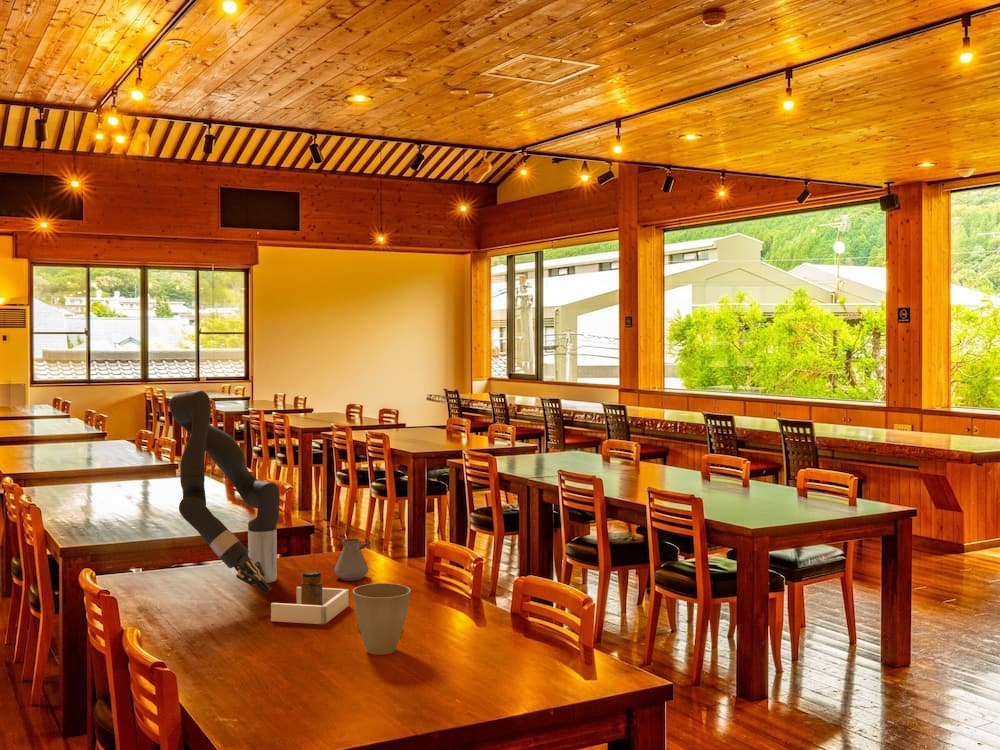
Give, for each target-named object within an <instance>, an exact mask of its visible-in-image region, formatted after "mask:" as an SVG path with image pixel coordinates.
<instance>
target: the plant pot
mask: <svg viewBox="0 0 1000 750" xmlns="http://www.w3.org/2000/svg"><path fill="white" fill-rule="evenodd" d="M352 596H353V603H354V609H355V610H354V611H355V616H356V619H357V626H358V625H359V627H358V628H359V629H358V630H359V633H360V636H361V638H362V641H363V646H364V647H365V650H366V652H367V653H369V654H370V655H373V656H374V655H375V656H386V655H390V654H394V653H395V652H396V649H397V647H398V645H399V642H400V639H401V636H402V633H403V630H404V627H405V621H406V618H407V613H408V609H409V603H410V598H411V588H410V587H408V586H406V585H403V584H399V583H398V584H397V583H389V582H388V583H387V582H383V583H381V582H378V583H368V584H363V585H359V586H357V587H355V588H353V589H352Z"/></svg>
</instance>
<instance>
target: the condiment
mask: <svg viewBox="0 0 1000 750" xmlns="http://www.w3.org/2000/svg"><path fill="white" fill-rule="evenodd" d="M321 576H322V573H321V572H320V571H318V570H317V571H316V570H309V571H308V570H307V571H304V572H303V573H302V581H301V583H300V585H301V586H300V587H301V604H304V605H321V606H323V605H322V588H323V582H322V577H321Z"/></svg>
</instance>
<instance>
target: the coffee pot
mask: <svg viewBox="0 0 1000 750" xmlns="http://www.w3.org/2000/svg"><path fill="white" fill-rule="evenodd" d="M361 542H362V539H360V538H344V539H342V540H341V543H342V545H343V548H342V551H341V552H340V554H339V555H340V556H339V558H338V560H337V562H336V565H335V567H334V573H335V576H337V577H338V578H339V580H343V581H347V582H348V581H349V582H350V581H359V580H362V579H364V577H365V576H366V575H367V574H368V572H369V566H368V564H367V562H366V559H365V557H364V555H363V552H362V549H365V548H368V549H372V548H373V547H374V544H373V542H371V541H368V542H365V543H363V544H362V545H360V544H361ZM371 544H372V546H371V547H369V546H370V545H371Z"/></svg>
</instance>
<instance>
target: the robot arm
mask: <svg viewBox="0 0 1000 750" xmlns="http://www.w3.org/2000/svg"><path fill="white" fill-rule="evenodd" d="M168 404H169V406H168V407H169V411H170V413H171V415H172V418H174V420H175V421H176V422H177V424H179V425H180V426H181V427H182V428H183V429H184V430H185V431H186V432H187V433H188V434H189V435H190V436H189V439H188V442H187V444H186V446H185V448H184V450H183V453H182V456H181V459H180V468H179V470H180V476H179V478H180V479H179V480H180V486H181V488H182V500H180V502H179V505H178V511H179V514H180V515H181V517H182V518H183V519H184V520H185V521H186V522H187V523H188V524H189V526H191V527H192V528H193V529H195V530H196V531H197V532H198V534H199V536H201V538H202V539H203V540H204V541H205V542H206V543H207V544H208V545H209V547H210V548H211V549H212V551H213V552H214V554H216V555H217V557H218V558H219V559H220V560H221V561H222V563H224V564H225V566H226V567H227V568H228V569H233V568H234V569H235V571H236V572H237V574H236V575H235V578H237V579H239V580H240V581H242V582H244V583H245V584H248V585H250V586H256V587H257V588H258V589H259V590H260V591H261V592H262V593H263V594H264V595H266V594H267V593H268V592H270V591H271V589H272V587H271V586H270V585H269V584H271V583H274V582H277V572H278V571H277V568H278V565H277V563H278V562H277V561H278V555H277V551H278V549H277V548H278V546H277V545H278V543H277V539H278V538H277V534H278V533H277V529H278V528H277V525H278V522H279V518H280V504H281V503H280V502H281V494H280V489H279V487H278V485H277V484H276V483H274V482H270V481H266V480H259V479H257V478H256V477H255V476H254V475H253V474H252V472H250V471H249V469H248V468H247V464H246V456H245V452H244V451H243V449H242V448H241V445H239V444H238V443H237V441H236V440H235V438H234V437H233V436H231V435H230V434H228V433H227V432H225V431H223V430H222V429H219V428H217V427H215V426H214V425H211V424H210V420H211V413H212V403H211V399H210V397H209V395H208V393H207V392H205V391H203V390H199V389H196V390H193V391H187V392H183V393H179V394H178V393H177V394H175V395H174V396H172V397H171V399H170V400H169V403H168ZM206 454H207V455H208V456H209V458H210V459H211V460H212V461H213V462H214V464H215V465H216V466H217V468H219V469H220V470H221V471H222V473H223V474H224V476H225V477H226V478H227V479H228V480H229V481H230V483H232V485H233V487H234V488H235V490H236V491H237V493H238V494H239V496H240V498H241V499H242V501H243V502H244V504H245V505H246V506H248V507H250V508H253V509H257V511H256V512H257V513H256V517H255V518H252V519H250V520H249V521H248V524H247V540H248V541H247V547H246V546H245V545H244V544H243V543H242V542H241V540H240V539H239V538H238V537H237V536H236V535H235V534H234V533H233V532H232V531H231V530H229V529H228V527H226V525H225V524H224V523H223V522H222V521H221V520H220V519H218V518H217V517H216V516H215V515H214V514H213V513H212V512H211V511H210V509H209V508H208V507H207V497H206V488H205V467H206V466H205V457H206Z"/></svg>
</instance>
